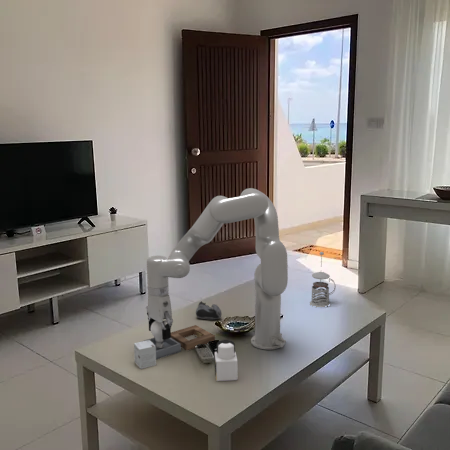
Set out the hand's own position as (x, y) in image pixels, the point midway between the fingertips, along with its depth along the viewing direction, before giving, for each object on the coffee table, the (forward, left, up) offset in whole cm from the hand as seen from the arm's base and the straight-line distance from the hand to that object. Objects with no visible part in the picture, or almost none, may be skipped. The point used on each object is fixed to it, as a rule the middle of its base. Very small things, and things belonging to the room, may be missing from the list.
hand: (159, 334), depth 184 cm
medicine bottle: (-30, -8, -7) cm, 32 cm away
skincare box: (-6, +9, -7) cm, 13 cm away
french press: (-5, -84, -7) cm, 84 cm away
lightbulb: (+1, 0, -6) cm, 6 cm away
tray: (0, 0, -6) cm, 6 cm away
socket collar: (0, -14, -6) cm, 15 cm away
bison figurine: (+15, -34, -7) cm, 38 cm away
